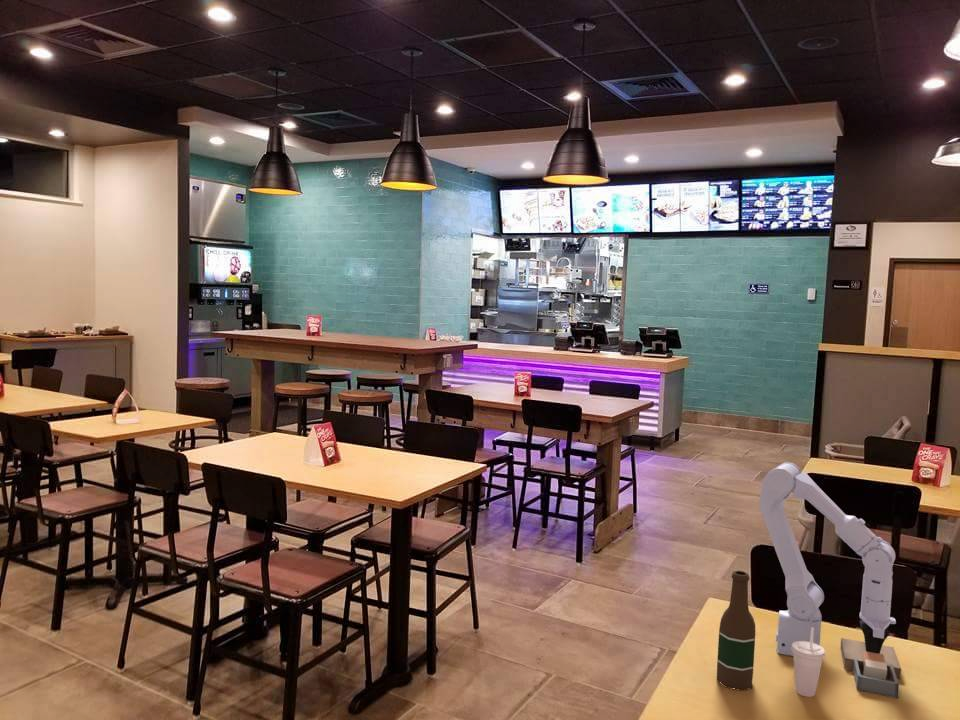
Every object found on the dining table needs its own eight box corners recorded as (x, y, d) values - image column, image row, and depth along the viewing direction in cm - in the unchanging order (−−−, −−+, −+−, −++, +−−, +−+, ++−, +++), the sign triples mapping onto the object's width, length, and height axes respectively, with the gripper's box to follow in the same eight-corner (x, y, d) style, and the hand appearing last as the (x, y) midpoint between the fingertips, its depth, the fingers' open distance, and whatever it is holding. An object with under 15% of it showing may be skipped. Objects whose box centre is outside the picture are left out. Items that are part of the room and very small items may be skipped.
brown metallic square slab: (844, 668, 163) (845, 658, 163) (840, 648, 173) (841, 637, 173) (900, 679, 159) (901, 668, 159) (892, 657, 169) (893, 647, 169)
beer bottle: (725, 669, 161) (731, 563, 160) (760, 682, 156) (766, 573, 154) (708, 681, 156) (714, 572, 154) (743, 695, 150) (750, 582, 149)
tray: (856, 689, 154) (857, 676, 154) (852, 670, 162) (853, 657, 162) (897, 698, 151) (898, 684, 151) (891, 678, 159) (892, 664, 159)
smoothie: (825, 702, 149) (830, 636, 148) (792, 698, 150) (796, 632, 149) (817, 686, 155) (822, 622, 154) (785, 682, 156) (789, 619, 155)
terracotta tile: (863, 671, 159) (864, 664, 158) (862, 657, 162) (863, 650, 162) (884, 675, 158) (885, 668, 157) (882, 661, 161) (883, 654, 160)
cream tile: (863, 673, 159) (864, 680, 158) (865, 659, 158) (866, 666, 156) (884, 677, 158) (885, 684, 156) (886, 663, 156) (887, 670, 155)
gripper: (902, 612, 153) (897, 674, 154) (892, 588, 166) (887, 646, 167) (864, 606, 156) (860, 667, 157) (857, 583, 169) (853, 640, 170)
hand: (872, 656), depth 162 cm, fingers closed
